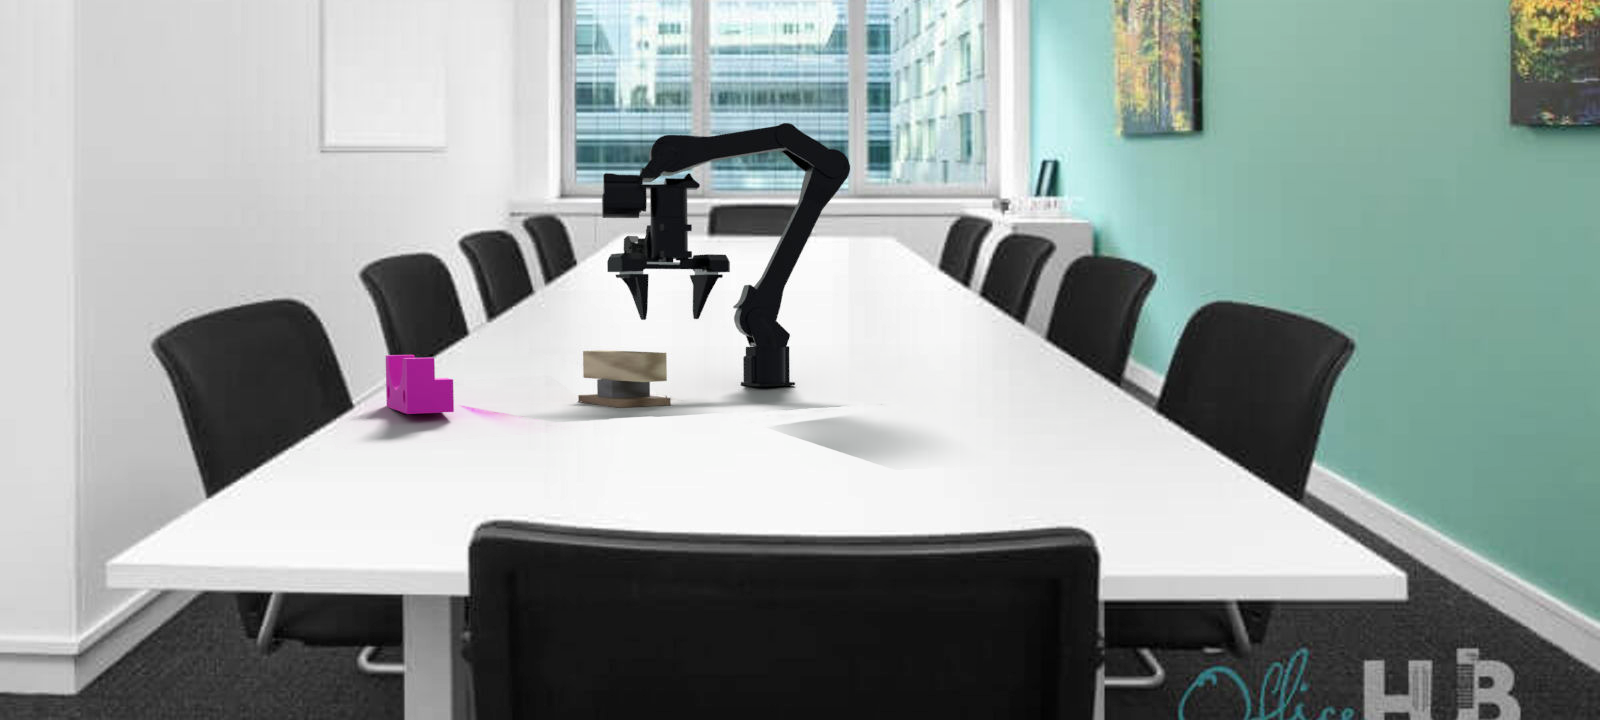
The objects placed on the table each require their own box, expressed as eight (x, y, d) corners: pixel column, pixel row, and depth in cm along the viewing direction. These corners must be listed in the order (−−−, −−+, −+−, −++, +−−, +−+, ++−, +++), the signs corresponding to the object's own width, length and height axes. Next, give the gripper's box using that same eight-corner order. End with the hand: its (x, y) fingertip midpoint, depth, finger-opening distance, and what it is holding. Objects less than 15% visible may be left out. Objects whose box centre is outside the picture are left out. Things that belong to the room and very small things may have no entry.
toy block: (453, 411, 185) (452, 357, 185) (407, 414, 183) (406, 358, 182) (430, 404, 199) (429, 354, 198) (386, 406, 196) (385, 355, 196)
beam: (606, 376, 203) (606, 350, 203) (666, 380, 191) (666, 352, 191) (583, 377, 201) (583, 350, 200) (643, 382, 188) (642, 353, 188)
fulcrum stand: (627, 399, 204) (627, 376, 204) (670, 404, 192) (670, 380, 192) (578, 401, 199) (578, 378, 199) (619, 407, 188) (619, 382, 188)
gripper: (696, 222, 220) (697, 318, 220) (591, 219, 209) (592, 319, 210) (731, 219, 210) (732, 318, 211) (622, 215, 200) (624, 320, 201)
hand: (670, 319), depth 209 cm, fingers open, 9 cm apart
